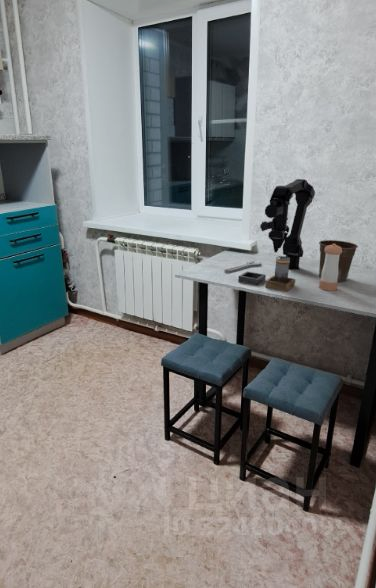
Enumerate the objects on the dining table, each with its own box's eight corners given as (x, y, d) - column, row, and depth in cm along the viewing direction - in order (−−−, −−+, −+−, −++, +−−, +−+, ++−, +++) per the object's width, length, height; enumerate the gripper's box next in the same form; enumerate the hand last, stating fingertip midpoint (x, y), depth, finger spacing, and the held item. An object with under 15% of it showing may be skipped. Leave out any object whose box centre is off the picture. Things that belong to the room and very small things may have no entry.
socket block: (246, 276, 183) (247, 271, 182) (265, 280, 178) (265, 274, 177) (238, 281, 175) (238, 276, 174) (257, 285, 171) (257, 279, 170)
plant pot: (354, 277, 185) (360, 242, 180) (348, 286, 172) (354, 249, 167) (319, 271, 193) (323, 238, 188) (310, 279, 180) (315, 244, 175)
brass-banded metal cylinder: (281, 283, 174) (284, 255, 169) (289, 287, 169) (293, 258, 165) (270, 285, 171) (273, 256, 167) (279, 289, 166) (281, 260, 162)
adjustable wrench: (227, 274, 187) (227, 271, 186) (218, 271, 192) (218, 268, 191) (263, 266, 202) (263, 262, 201) (253, 263, 206) (254, 260, 206)
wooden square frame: (273, 281, 176) (274, 275, 175) (294, 285, 171) (295, 278, 170) (265, 287, 168) (265, 280, 167) (287, 291, 164) (288, 284, 163)
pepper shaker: (315, 287, 169) (321, 243, 163) (323, 284, 174) (330, 241, 168) (331, 292, 164) (338, 246, 158) (339, 288, 169) (346, 244, 163)
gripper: (266, 211, 187) (264, 244, 192) (258, 217, 170) (255, 252, 176) (291, 213, 183) (287, 246, 188) (284, 219, 167) (280, 255, 172)
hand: (277, 250), depth 181 cm, fingers open, 9 cm apart
